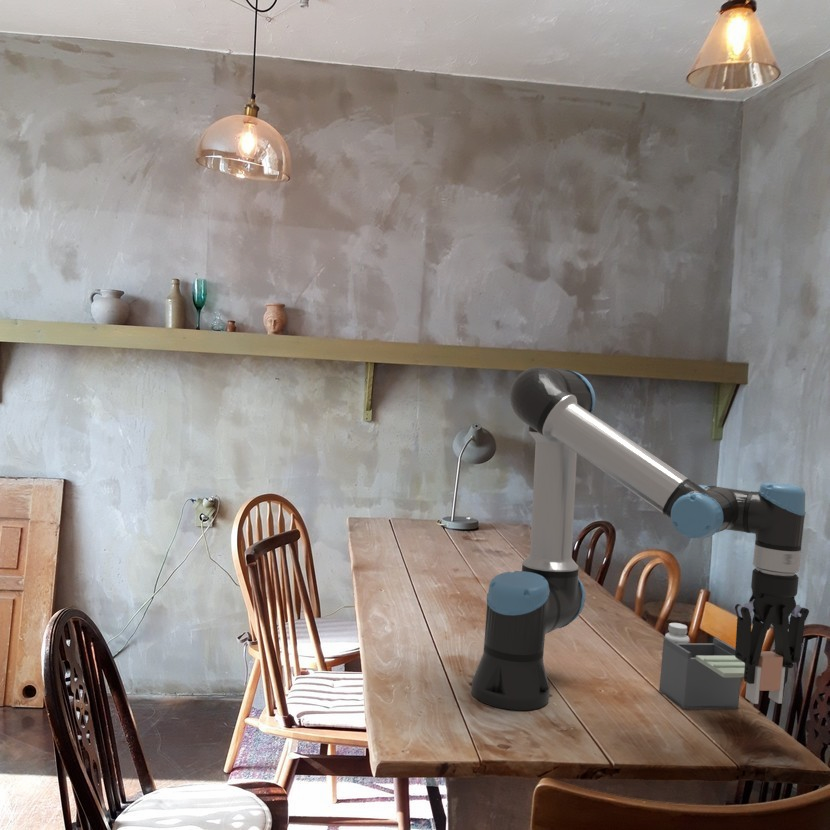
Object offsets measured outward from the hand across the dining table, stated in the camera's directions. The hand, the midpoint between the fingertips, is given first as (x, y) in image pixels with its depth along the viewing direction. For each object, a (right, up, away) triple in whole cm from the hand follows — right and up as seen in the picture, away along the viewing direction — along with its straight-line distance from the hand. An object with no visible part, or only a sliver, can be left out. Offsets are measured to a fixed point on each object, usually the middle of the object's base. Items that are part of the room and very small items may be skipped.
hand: (763, 700), depth 147 cm
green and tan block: (-1, +3, +6) cm, 7 cm away
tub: (-5, -7, +20) cm, 22 cm away
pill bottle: (-4, -6, +39) cm, 39 cm away
